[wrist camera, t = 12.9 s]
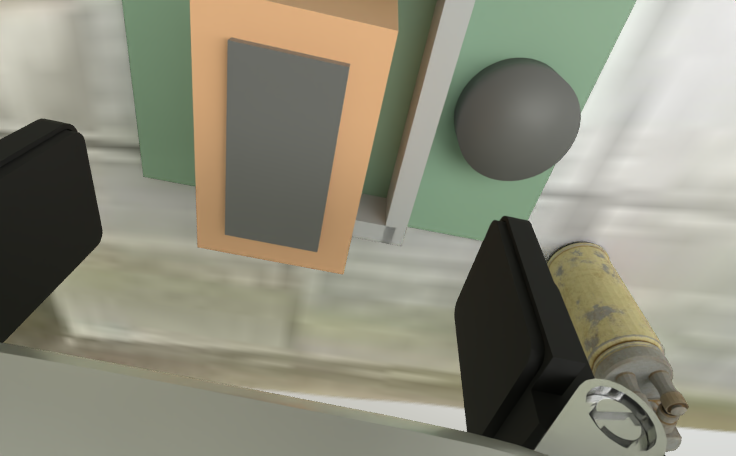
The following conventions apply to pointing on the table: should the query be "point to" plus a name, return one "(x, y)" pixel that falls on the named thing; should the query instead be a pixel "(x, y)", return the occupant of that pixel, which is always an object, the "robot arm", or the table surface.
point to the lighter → (616, 332)
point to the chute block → (286, 122)
